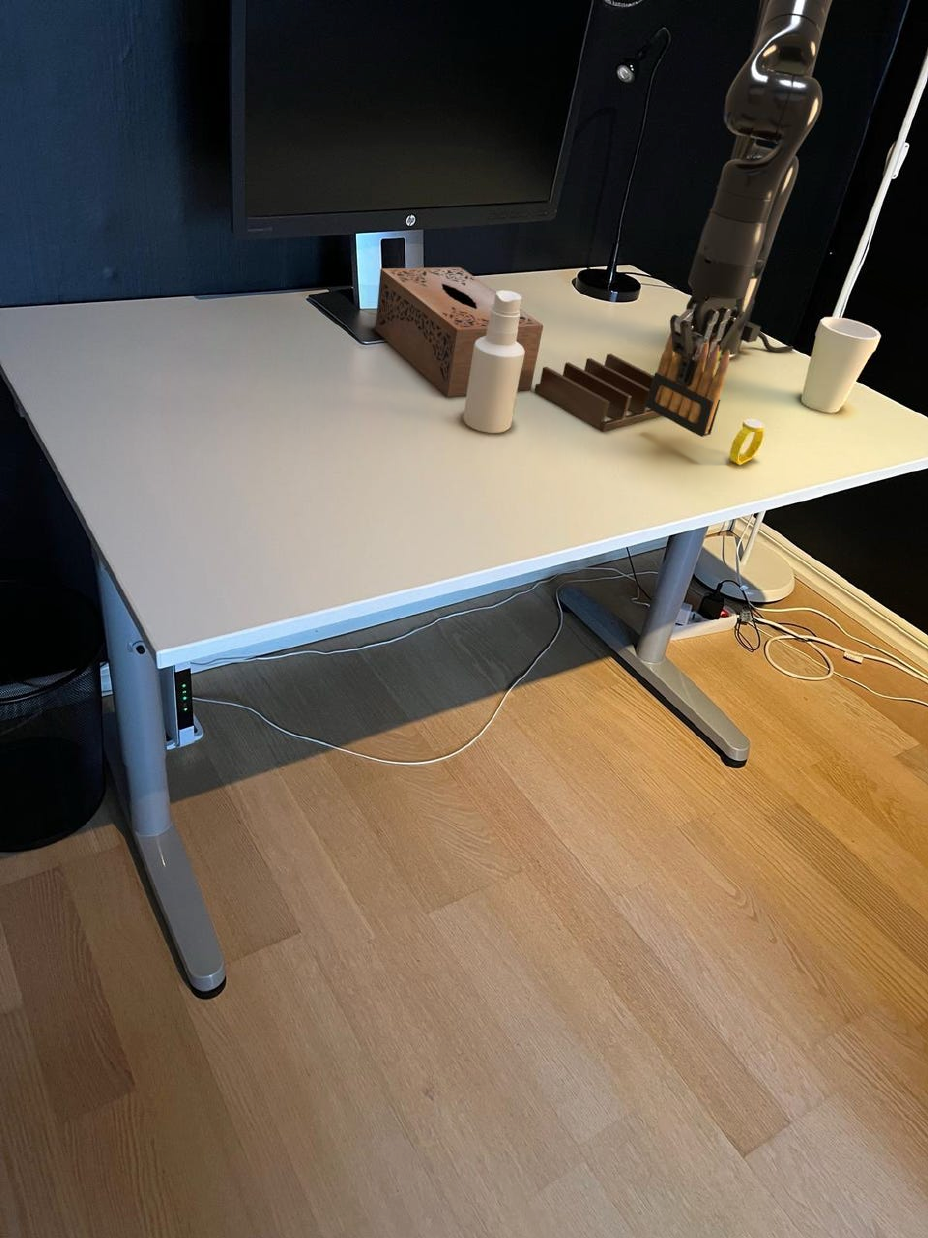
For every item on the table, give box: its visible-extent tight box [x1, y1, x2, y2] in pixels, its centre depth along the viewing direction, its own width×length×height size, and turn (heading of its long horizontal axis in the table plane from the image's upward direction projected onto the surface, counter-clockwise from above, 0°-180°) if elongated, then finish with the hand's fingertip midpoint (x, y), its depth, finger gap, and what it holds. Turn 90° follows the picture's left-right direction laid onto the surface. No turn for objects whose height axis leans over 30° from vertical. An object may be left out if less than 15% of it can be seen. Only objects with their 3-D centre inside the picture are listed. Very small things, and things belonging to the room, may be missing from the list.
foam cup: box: [800, 316, 882, 414], centre depth 151 cm, size 10×9×13 cm
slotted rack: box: [533, 353, 663, 432], centre depth 141 cm, size 15×15×4 cm
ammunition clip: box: [645, 332, 730, 438], centre depth 127 cm, size 11×2×12 cm, turn 40°
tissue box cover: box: [374, 266, 544, 398], centre depth 144 cm, size 26×14×10 cm, turn 29°
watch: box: [729, 418, 765, 466], centre depth 131 cm, size 6×3×6 cm, turn 133°
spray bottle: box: [462, 289, 525, 434], centre depth 125 cm, size 7×7×18 cm
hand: (687, 382), depth 127 cm, fingers closed on ammunition clip, 1 cm apart
